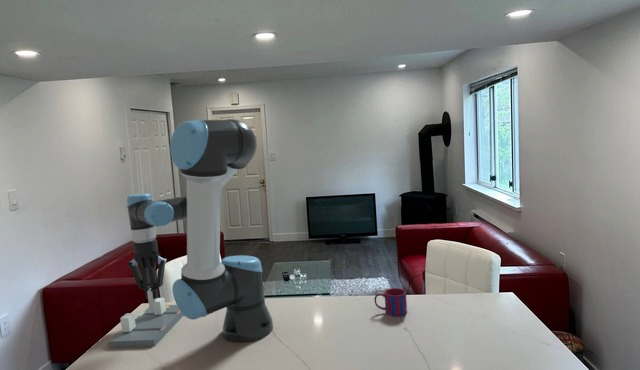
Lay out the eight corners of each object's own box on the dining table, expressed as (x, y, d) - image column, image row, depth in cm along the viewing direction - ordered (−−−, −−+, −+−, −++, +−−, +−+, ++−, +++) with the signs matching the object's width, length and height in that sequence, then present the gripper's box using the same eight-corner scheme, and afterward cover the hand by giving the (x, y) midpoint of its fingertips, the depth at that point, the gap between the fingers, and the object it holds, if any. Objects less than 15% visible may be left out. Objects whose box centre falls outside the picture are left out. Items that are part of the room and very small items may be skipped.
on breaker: (129, 331, 130) (128, 317, 129) (122, 332, 130) (120, 318, 130) (135, 326, 133) (134, 313, 133) (128, 326, 134) (126, 313, 133)
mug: (406, 317, 130) (405, 296, 130) (374, 316, 133) (373, 295, 132) (407, 308, 137) (406, 288, 136) (376, 307, 139) (375, 287, 138)
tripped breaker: (161, 314, 141) (159, 301, 141) (154, 314, 142) (152, 302, 141) (166, 310, 145) (164, 297, 144) (159, 310, 145) (157, 298, 145)
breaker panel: (154, 346, 124) (153, 338, 124) (109, 347, 125) (108, 340, 125) (189, 309, 150) (188, 303, 149) (151, 311, 151) (150, 304, 151)
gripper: (168, 236, 144) (176, 302, 146) (131, 238, 145) (140, 304, 147) (158, 241, 136) (167, 311, 139) (119, 244, 137) (129, 313, 140)
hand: (153, 307), depth 143 cm, fingers closed
